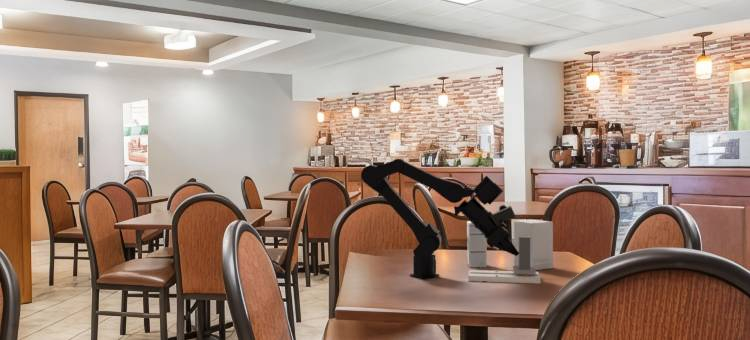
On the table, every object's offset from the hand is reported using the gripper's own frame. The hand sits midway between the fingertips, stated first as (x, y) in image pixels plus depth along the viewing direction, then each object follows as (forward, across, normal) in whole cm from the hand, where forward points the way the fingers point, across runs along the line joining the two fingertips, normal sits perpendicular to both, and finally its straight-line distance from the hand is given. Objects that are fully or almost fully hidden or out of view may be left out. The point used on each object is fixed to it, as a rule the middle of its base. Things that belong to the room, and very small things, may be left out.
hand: (517, 254), depth 171 cm
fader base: (+2, 0, +9) cm, 9 cm away
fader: (+5, 0, +2) cm, 6 cm away
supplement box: (+9, +20, +1) cm, 22 cm away
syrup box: (-3, +20, +14) cm, 24 cm away
